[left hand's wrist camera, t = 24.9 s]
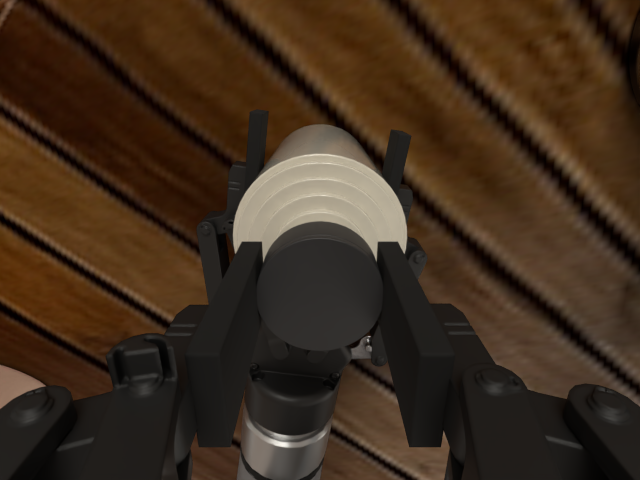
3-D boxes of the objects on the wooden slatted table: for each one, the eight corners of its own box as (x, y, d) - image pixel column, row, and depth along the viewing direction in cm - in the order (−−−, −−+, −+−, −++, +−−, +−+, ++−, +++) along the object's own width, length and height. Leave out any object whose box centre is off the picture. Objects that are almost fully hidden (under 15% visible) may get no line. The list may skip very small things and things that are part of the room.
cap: (328, 342, 16) (329, 371, 14) (239, 283, 15) (230, 307, 13) (401, 266, 15) (411, 288, 13) (309, 196, 14) (308, 211, 12)
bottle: (339, 238, 33) (361, 406, 16) (254, 195, 32) (173, 328, 14) (388, 154, 31) (480, 244, 13) (297, 104, 29) (264, 129, 12)
